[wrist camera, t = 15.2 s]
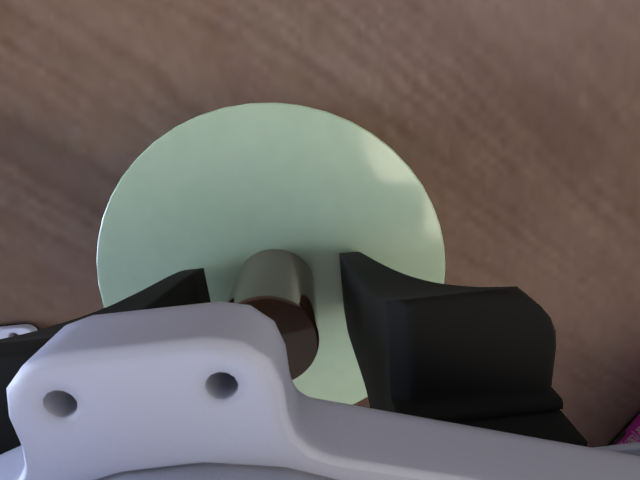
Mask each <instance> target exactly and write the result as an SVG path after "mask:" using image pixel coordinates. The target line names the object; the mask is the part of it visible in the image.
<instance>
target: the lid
mask: <svg viewBox="0 0 640 480" xmlns="http://www.w3.org/2000/svg"><path fill="white" fill-rule="evenodd" d="M357 251H358V252H361V253H363V254H365V255H366V256H368V257H370V258H372V259H373V260H375V261H377V262H379V263H381V264H383V265H385V266H387V267H389V268H391V269H393V270H396V271H398V272H400V273H403V274H406V275H408V276H412V277H415V278H418V279H422V280H426V281H430V282H435V283H441V284H444V280H445V267H446V265H445V249H444V241H443V237H442V232H441V227H440V223H439V220H438V218H437V215H436V212H435V209H434V207H433V204H432V202H431V200H430V198H429V196H428V194H427V193H426V191H425V189H424V187H423V185H422V183H421V182H420V181H419V179H418V178H417V177H416V175H415V174H414V172H413V171H412V170H411V168H410V167H409V166H408V165H407V164H406V163H405V161H404V160H403V159H402V158H401V157H400V156H399V155H398V154H397V153H396V152H395V151H394V150H393V149H392V148H391V147H389V146H388V145H387V144H385V143H384V142H383V141H381V140H380V139H379V138H378V137H376V136H375V135H374V134H372V133H371V132H369V131H367V130H365V129H364V128H362V127H360V126H358V125H357V124H355V123H353V122H351V121H349V120H347V119H344V118H342V117H339V116H337V115H334V114H332V113H329V112H327V111H323V110H319V109H315V108H311V107H307V106H303V105H296V104H286V103H277V102H270V103H247V104H241V105H235V106H230V107H224V108H220V109H217V110H214V111H211V112H208V113H205V114H202V115H199V116H197V117H195V118H192V119H190V120H188V121H186V122H184V123H182V124H180V125H178V126H176V127H175V128H173V129H172V130H170V131H169V132H167V133H166V134H164V135H163V136H161V137H160V138H158V139H157V140H156V141H154V142H153V143H152V144H151V145H150V146H149V147H148V148H147V149H146V150H145V151H144V152H142V153H141V154H140V155H139V156H138V157H137V158H136V160H135V161H134V162H133V163H132V165H131V166H130V167H129V168H128V170H127V171H126V172H125V173H124V175H123V176H122V178H121V179H120V181H119V183H118V185H117V186H116V188H115V190H114V191H113V193H112V195H111V197H110V200H109V202H108V205H107V207H106V210H105V213H104V215H103V218H102V223H101V227H100V232H99V236H98V245H97V260H96V262H97V274H98V284H99V288H100V293H101V297H102V301H103V305H104V307H105V308H106V307H108V306H111V305H113V304H115V303H117V302H119V301H121V300H123V299H125V298H127V297H129V296H132V295H134V294H136V293H138V292H140V291H142V290H144V289H146V288H147V287H149V286H151V285H153V284H155V283H157V282H159V281H161V280H163V279H164V278H166V277H168V276H170V275H172V274H175V273H177V272H179V271H183V270H189V269H198V268H204V272H205V277H206V282H207V286H208V291H209V296H210V301H211V302H219V301H222V302H230V303H238V304H246V305H251V306H253V307H254V308H256V309H257V310H259V311H260V312H261V313H263V314H264V315H266V316H267V317H269V318H270V319H272V320H273V321H275V323H276V326H277V328H278V330H279V332H280V334H281V336H282V338H283V340H284V342H285V345H286V351H287V358H288V365H289V371H290V375H291V378H292V381H293V383H294V385H295V386H296V388H297V389H298V390H299V391H300V392H302V393H303V394H305V395H306V396H308V397H311V398H317V399H323V400H328V401H334V402H339V403H345V404H351V405H353V404H355V403H357V402H359V401H361V400H363V399H365V398H367V397H368V395H367V391H366V388H365V384H364V381H363V378H362V375H361V372H360V368H359V365H358V362H357V359H356V356H355V353H354V350H353V347H352V344H351V341H350V338H349V334H348V330H347V324H346V319H345V313H344V305H343V293H342V281H341V269H340V258H339V253H348V252H357Z"/></svg>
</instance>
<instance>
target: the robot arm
mask: <svg viewBox="0 0 640 480" xmlns="http://www.w3.org/2000/svg"><path fill="white" fill-rule="evenodd" d="M339 258H340V269H341V281H342V293H343V305H344V313H345V319H346V324H347V330H348V334H349V338H350V341H351V344H352V347H353V350H354V353H355V356H356V359H357V362H358V365H359V368H360V372H361V375H362V378H363V381H364V384H365V388H366V391H367V395H368V400H369V405H370V408H367V407H362V406H356V405H351V404H345V403H339V402H334V401H328V400H323V399H317V398H311V397H308V396H306V395H305V394H303V393H302V392H300V391H299V390H298V389H297V388H296V386H295V385H294V383H293V381H292V378H291V375H290V371H289V365H288V358H287V351H286V345H285V342H284V340H283V338H282V336H281V334H280V332H279V330H278V328H277V326H276V323H275V321H273V320H272V319H270V318H269V317H267V316H266V315H264V314H263V313H261V312H260V311H259V310H257V309H256V308H254V307H253V306H251V305H246V304H238V303H230V302H222V301H219V302H211V301H210V296H209V291H208V286H207V282H206V277H205V272H204V268H198V269H189V270H183V271H179V272H177V273H175V274H172V275H170V276H168V277H166V278H164V279H163V280H161V281H159V282H157V283H155V284H153V285H151V286H149V287H147V288H146V289H144V290H142V291H140V292H138V293H136V294H134V295H132V296H129V297H127V298H125V299H123V300H121V301H119V302H117V303H115V304H113V305H111V306H108V307H106V308H104V309H101V310H98V311H96V312H93V313H91V314H88V315H86V316H83V317H80V318H77V319H74V320H71V321H67V322H64V323H61V324H58V325H55V326H51V327H48V328H45V329H41V330H37V328H36V327H34V326H33V325H30V324H20V325H11V326H2V327H0V480H640V442H635V443H627V444H618V445H609V446H601V447H592V448H591V447H587V443H588V442H587V441H586V440H585V439H584V438H583V436H582V435H581V434H580V433H579V432H578V431H577V429H576V428H575V427H574V426H573V425H572V424H571V422H570V421H569V420H568V419H567V418H566V416H565V415H564V414H563V413H562V412H561V411H560V409H563V401H562V399H561V397H560V396H559V395H558V394H557V393H556V392H555V391H554V390H553V388H552V387H551V385H552V376H553V368H554V359H555V350H556V334H555V329H554V326H553V324H552V321H551V318H550V317H549V316H548V314H547V313H546V312H545V311H544V310H543V308H542V307H541V306H540V305H539V304H537V303H536V302H535V301H534V300H533V299H531V298H530V297H529V296H528V295H527V294H525V293H524V292H523V291H522V290H521V289H519V288H518V287H466V286H455V285H447V284H441V283H435V282H430V281H426V280H422V279H418V278H415V277H412V276H408V275H406V274H403V273H400V272H398V271H396V270H393V269H391V268H389V267H387V266H385V265H383V264H381V263H379V262H377V261H375V260H373V259H372V258H370V257H368V256H366V255H365V254H363V253H361V252H358V251H357V252H348V253H339ZM14 333H16V334H18V335H17V336H15V334H14Z"/></svg>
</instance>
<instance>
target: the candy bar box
mask: <svg viewBox="0 0 640 480" xmlns="http://www.w3.org/2000/svg"><path fill="white" fill-rule="evenodd" d="M635 442H640V414H639V415H638V416H637V417H636V418H635V419H634V420H633V421H632V422H631V423H630V425H629V426H628V427H627V428H626V429H625V430H624V431H623V432H622V433H621V434H620V435H619V436H618V437H617V438H616V440H615V441H614V442H613V443H612V444H611V445H618V444H627V443H635Z"/></svg>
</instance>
